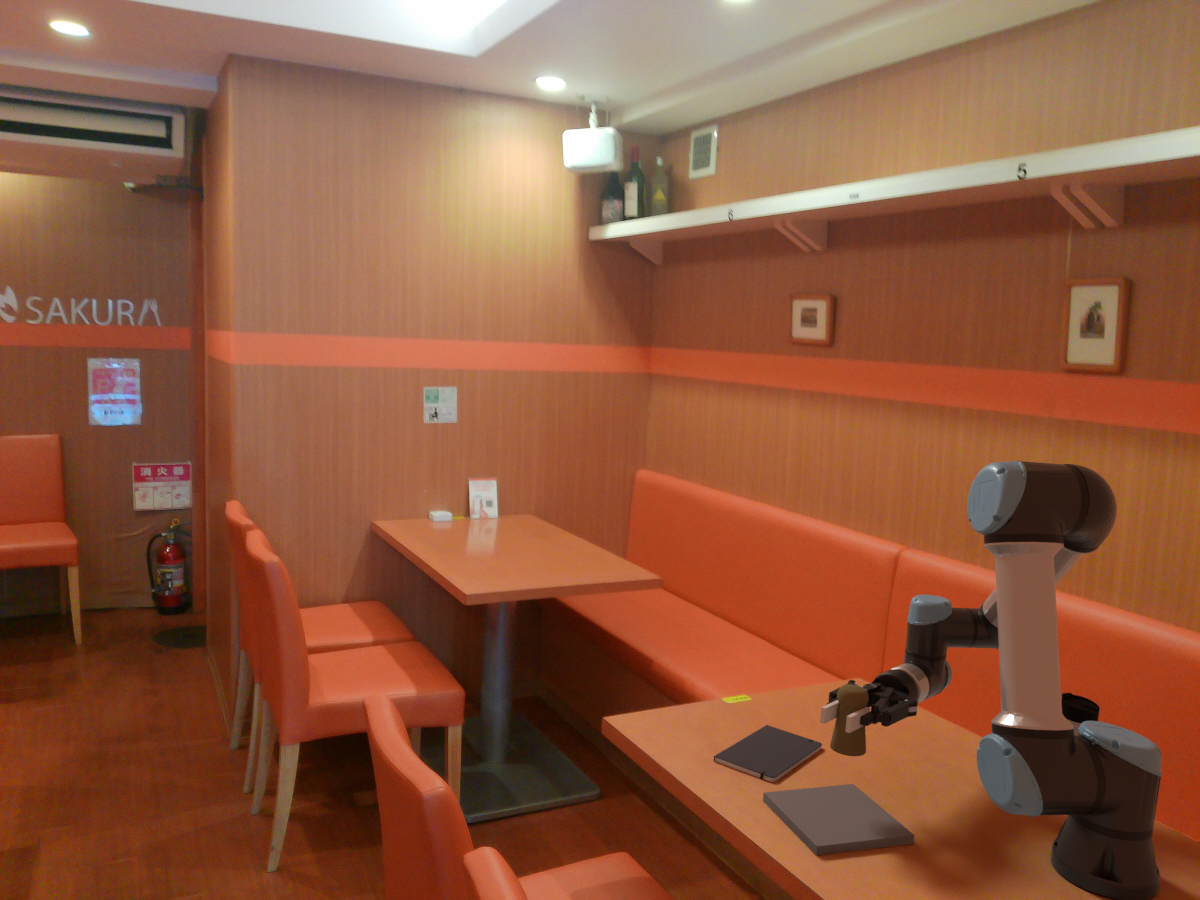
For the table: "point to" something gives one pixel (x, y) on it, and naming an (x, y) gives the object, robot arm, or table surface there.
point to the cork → (850, 702)
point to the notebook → (768, 753)
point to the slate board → (837, 819)
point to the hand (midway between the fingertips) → (835, 719)
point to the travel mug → (1078, 710)
